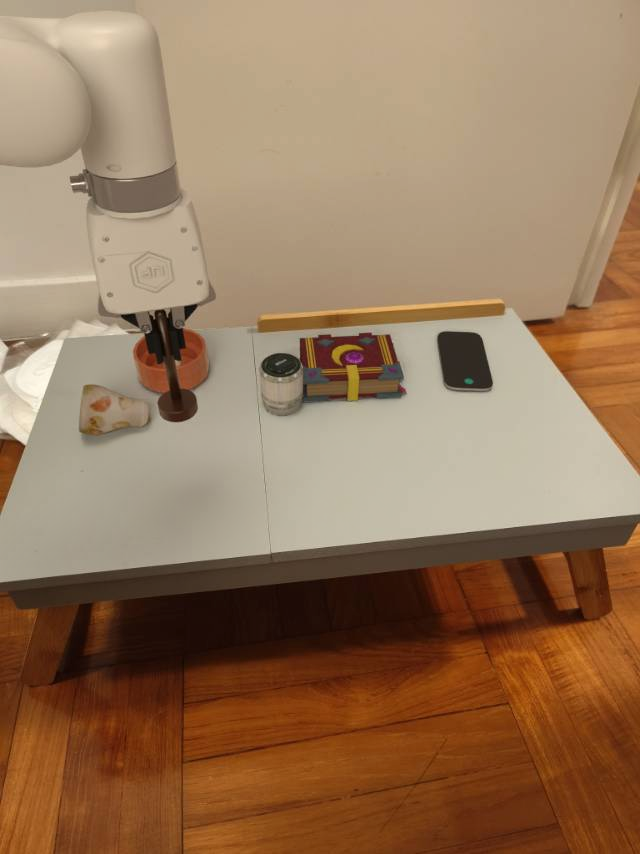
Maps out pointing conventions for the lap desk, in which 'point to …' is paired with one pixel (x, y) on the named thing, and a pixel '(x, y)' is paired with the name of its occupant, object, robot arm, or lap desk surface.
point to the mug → (109, 411)
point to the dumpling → (178, 363)
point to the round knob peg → (173, 380)
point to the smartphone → (464, 361)
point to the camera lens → (281, 383)
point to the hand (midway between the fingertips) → (168, 354)
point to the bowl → (188, 373)
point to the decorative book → (350, 367)
